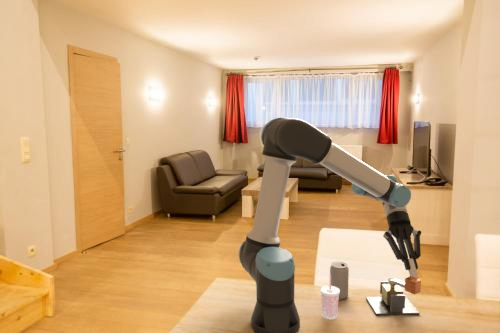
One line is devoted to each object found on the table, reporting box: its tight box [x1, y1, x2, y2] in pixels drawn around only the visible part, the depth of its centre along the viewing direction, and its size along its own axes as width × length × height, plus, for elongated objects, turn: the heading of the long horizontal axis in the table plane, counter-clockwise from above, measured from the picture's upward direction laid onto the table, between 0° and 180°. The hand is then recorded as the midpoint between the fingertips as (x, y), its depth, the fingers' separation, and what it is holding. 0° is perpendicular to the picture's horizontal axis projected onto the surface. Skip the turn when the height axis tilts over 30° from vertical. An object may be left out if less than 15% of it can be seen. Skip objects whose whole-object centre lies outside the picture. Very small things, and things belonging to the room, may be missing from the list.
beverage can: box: [329, 261, 350, 301], centre depth 137 cm, size 6×6×12 cm
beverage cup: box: [320, 274, 340, 321], centre depth 124 cm, size 6×6×14 cm
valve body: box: [365, 280, 421, 317], centre depth 129 cm, size 14×11×8 cm
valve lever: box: [387, 275, 422, 295], centre depth 125 cm, size 10×3×4 cm, turn 35°
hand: (414, 279), depth 125 cm, fingers closed
